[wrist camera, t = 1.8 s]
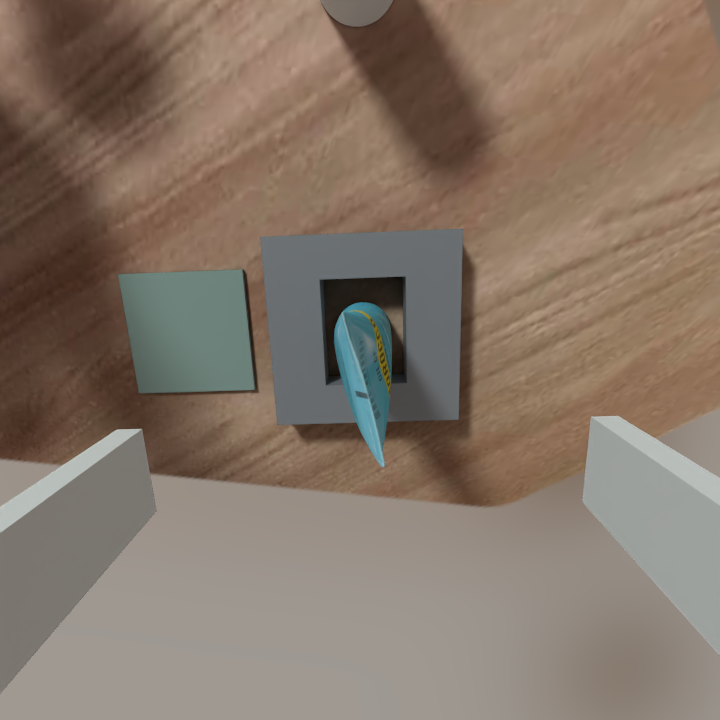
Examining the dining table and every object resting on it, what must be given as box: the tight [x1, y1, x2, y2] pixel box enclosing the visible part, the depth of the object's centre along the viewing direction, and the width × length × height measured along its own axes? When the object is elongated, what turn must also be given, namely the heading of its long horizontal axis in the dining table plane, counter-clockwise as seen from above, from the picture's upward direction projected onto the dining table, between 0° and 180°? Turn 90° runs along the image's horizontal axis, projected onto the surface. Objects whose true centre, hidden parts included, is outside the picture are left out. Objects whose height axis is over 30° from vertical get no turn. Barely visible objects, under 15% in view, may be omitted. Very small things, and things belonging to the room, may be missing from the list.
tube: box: [334, 302, 392, 467], centre depth 27 cm, size 7×5×19 cm, turn 19°
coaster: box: [118, 270, 256, 393], centre depth 37 cm, size 11×11×1 cm
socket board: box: [260, 229, 463, 425], centre depth 35 cm, size 16×16×3 cm
